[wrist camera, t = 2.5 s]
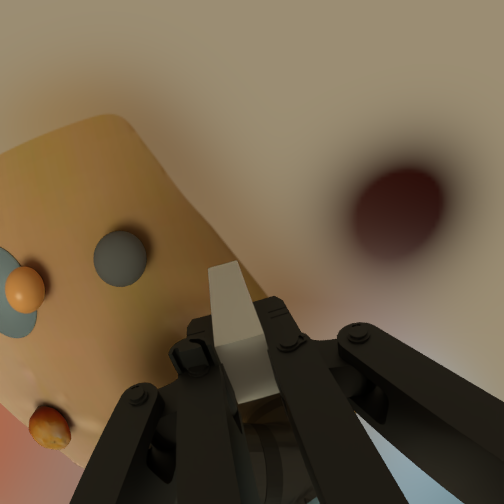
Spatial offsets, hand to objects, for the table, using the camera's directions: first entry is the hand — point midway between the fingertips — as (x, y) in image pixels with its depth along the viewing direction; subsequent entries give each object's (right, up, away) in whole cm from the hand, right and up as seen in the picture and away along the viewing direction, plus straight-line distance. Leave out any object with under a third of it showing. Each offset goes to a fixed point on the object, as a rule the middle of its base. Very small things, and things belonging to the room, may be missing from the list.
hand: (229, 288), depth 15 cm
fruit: (-33, -27, +20) cm, 47 cm away
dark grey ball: (-12, +1, +12) cm, 17 cm away
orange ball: (-25, -3, +10) cm, 27 cm away
